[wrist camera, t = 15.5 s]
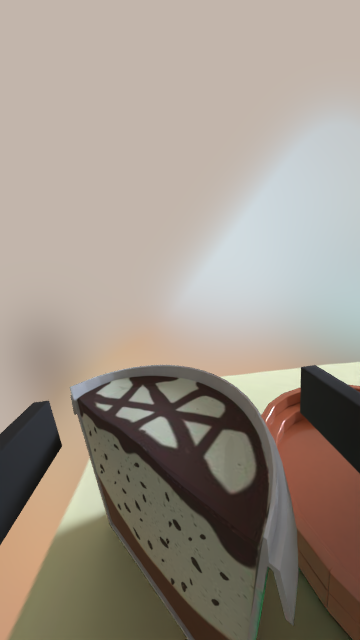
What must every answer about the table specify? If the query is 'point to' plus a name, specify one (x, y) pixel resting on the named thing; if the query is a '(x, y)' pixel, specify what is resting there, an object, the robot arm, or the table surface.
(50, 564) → the table surface
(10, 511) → the robot arm
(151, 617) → the table surface
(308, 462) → the terracotta plant saucer
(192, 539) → the food container
